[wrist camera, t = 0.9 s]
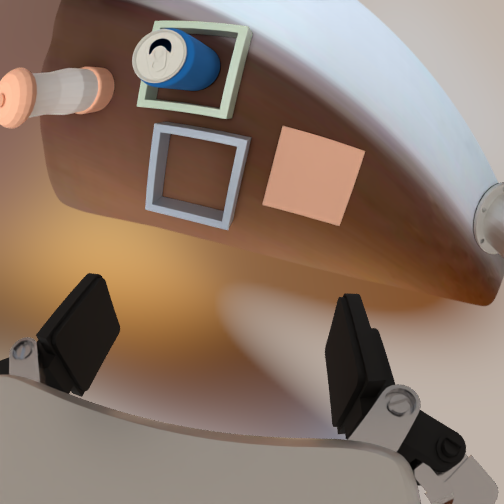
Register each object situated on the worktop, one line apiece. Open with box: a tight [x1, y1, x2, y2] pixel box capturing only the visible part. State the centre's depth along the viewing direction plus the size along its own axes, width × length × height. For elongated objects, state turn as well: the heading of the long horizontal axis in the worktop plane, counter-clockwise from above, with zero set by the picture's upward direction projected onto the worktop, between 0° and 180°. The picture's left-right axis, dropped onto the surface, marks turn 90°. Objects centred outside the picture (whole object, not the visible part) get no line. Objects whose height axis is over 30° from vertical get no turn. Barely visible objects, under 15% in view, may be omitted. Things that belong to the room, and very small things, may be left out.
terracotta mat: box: [262, 126, 365, 226], centre depth 36 cm, size 11×11×1 cm
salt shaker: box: [0, 67, 114, 128], centre depth 25 cm, size 7×7×19 cm
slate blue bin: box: [145, 122, 251, 230], centre depth 36 cm, size 12×12×4 cm
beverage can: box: [132, 28, 220, 91], centre depth 26 cm, size 6×6×12 cm
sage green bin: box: [137, 21, 253, 119], centre depth 29 cm, size 12×12×4 cm
